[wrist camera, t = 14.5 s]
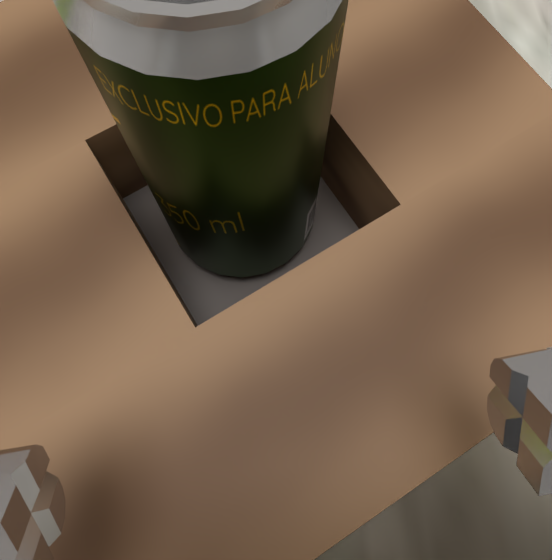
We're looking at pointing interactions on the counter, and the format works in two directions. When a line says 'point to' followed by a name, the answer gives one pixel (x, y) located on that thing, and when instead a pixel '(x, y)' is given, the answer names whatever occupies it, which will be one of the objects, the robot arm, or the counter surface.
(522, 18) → the counter surface
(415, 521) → the counter surface
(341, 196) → the socket board
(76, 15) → the beer can
